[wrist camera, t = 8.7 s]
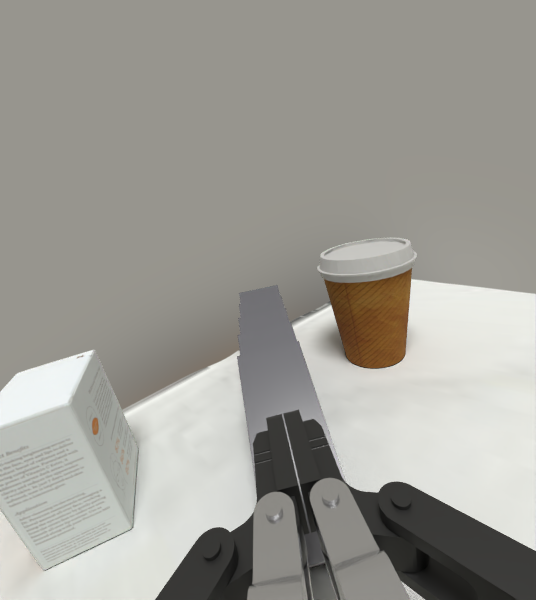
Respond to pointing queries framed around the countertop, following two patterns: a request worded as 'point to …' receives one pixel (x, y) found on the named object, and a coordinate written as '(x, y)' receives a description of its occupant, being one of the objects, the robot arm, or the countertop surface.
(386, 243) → the disposable coffee cup
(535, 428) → the countertop surface
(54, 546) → the small box
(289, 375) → the domino
